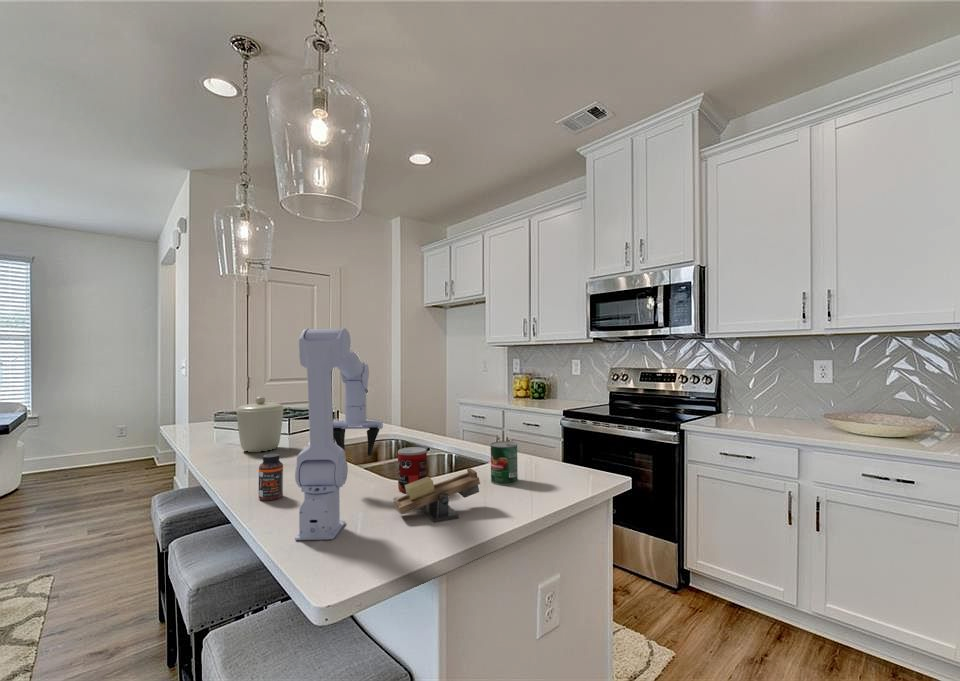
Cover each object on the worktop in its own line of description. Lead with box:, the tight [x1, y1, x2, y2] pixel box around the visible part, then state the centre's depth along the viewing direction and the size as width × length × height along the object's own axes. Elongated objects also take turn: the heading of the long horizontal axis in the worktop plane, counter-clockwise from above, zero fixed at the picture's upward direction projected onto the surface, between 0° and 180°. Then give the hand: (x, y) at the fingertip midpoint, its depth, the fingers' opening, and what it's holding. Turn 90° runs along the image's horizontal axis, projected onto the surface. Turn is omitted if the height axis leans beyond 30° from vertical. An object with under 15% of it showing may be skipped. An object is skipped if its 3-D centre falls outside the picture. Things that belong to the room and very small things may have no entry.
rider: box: [405, 476, 435, 502], centre depth 109 cm, size 6×4×4 cm, turn 113°
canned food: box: [397, 446, 428, 494], centre depth 128 cm, size 8×8×11 cm
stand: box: [420, 493, 460, 523], centre depth 110 cm, size 6×12×5 cm, turn 23°
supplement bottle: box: [258, 453, 284, 502], centre depth 123 cm, size 6×6×11 cm
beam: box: [393, 467, 481, 515], centre depth 110 cm, size 20×6×5 cm, turn 113°
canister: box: [234, 396, 286, 453], centre depth 182 cm, size 18×18×21 cm
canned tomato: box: [490, 440, 519, 486], centre depth 135 cm, size 8×8×11 cm
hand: (356, 455), depth 127 cm, fingers open, 7 cm apart
